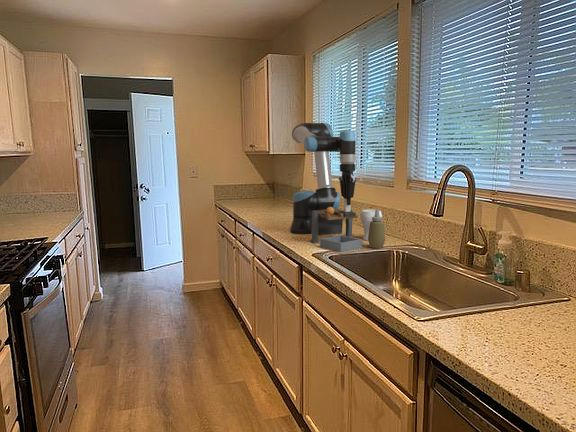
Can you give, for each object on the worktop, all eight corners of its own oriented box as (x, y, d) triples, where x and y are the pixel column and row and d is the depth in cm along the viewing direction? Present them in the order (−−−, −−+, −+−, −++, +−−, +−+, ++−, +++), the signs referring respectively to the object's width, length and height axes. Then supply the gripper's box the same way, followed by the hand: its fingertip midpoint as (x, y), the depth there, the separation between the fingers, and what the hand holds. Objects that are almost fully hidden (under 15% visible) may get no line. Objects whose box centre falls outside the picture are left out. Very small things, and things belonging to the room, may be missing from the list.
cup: (381, 241, 210) (382, 212, 208) (360, 241, 212) (360, 211, 210) (381, 237, 220) (382, 209, 218) (360, 237, 223) (361, 209, 220)
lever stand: (309, 241, 213) (309, 211, 211) (349, 237, 222) (350, 208, 219) (313, 243, 208) (313, 212, 206) (354, 239, 217) (355, 209, 215)
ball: (324, 215, 207) (324, 207, 207) (330, 214, 209) (330, 206, 209) (330, 215, 204) (329, 206, 203) (336, 214, 206) (335, 206, 206)
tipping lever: (311, 234, 219) (312, 207, 216) (338, 231, 225) (339, 206, 222) (327, 243, 202) (328, 214, 199) (356, 240, 208) (357, 212, 205)
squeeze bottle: (385, 246, 201) (386, 208, 198) (384, 249, 193) (385, 211, 190) (368, 245, 203) (369, 208, 201) (366, 248, 196) (367, 210, 193)
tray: (320, 246, 200) (320, 238, 199) (341, 243, 208) (341, 235, 208) (340, 252, 189) (340, 243, 188) (362, 247, 197) (362, 239, 197)
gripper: (334, 163, 208) (334, 210, 211) (347, 163, 196) (347, 213, 199) (347, 163, 211) (347, 209, 214) (361, 163, 199) (361, 212, 202)
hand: (347, 211), depth 207 cm, fingers closed
